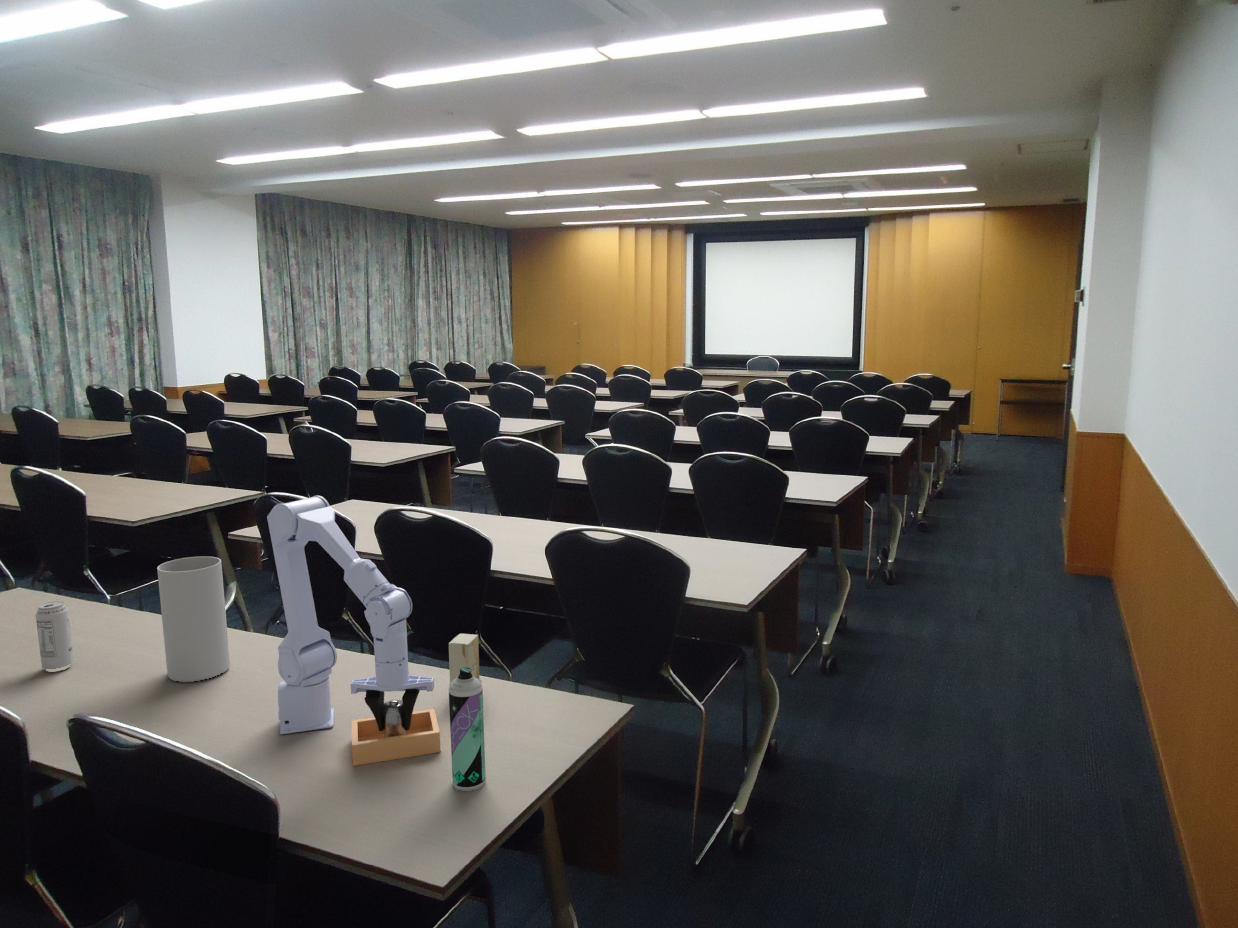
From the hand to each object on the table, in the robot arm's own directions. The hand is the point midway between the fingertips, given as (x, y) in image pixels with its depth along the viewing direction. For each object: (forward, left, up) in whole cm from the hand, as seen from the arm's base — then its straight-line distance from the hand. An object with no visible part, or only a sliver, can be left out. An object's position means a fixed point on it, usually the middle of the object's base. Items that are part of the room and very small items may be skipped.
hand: (395, 728), depth 151 cm
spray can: (+11, -17, -4) cm, 21 cm away
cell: (0, 0, -2) cm, 2 cm away
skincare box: (+15, +18, -4) cm, 24 cm away
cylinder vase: (-40, +49, -4) cm, 63 cm away
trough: (0, 0, -3) cm, 3 cm away
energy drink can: (-71, +62, -4) cm, 94 cm away
